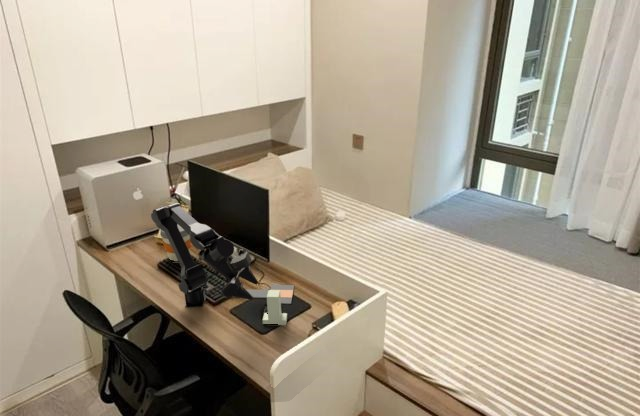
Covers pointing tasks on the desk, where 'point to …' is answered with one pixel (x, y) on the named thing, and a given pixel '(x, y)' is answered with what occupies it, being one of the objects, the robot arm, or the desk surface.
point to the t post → (274, 309)
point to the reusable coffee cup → (169, 247)
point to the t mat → (285, 290)
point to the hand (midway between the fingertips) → (255, 291)
